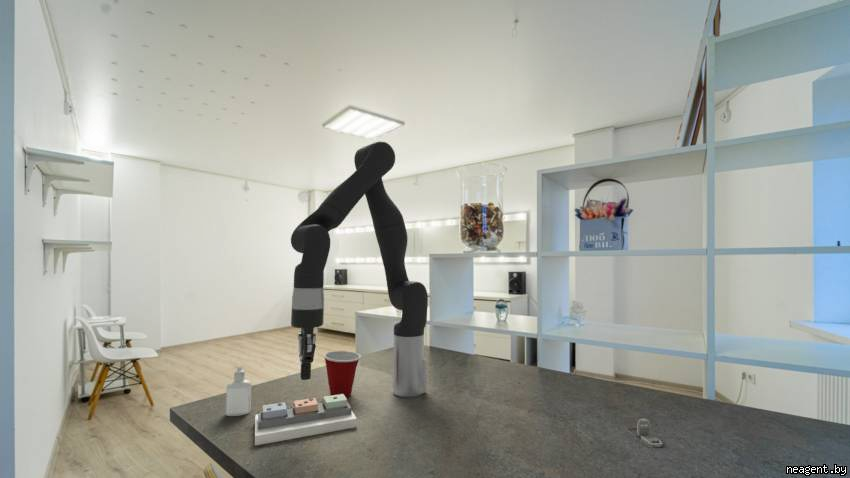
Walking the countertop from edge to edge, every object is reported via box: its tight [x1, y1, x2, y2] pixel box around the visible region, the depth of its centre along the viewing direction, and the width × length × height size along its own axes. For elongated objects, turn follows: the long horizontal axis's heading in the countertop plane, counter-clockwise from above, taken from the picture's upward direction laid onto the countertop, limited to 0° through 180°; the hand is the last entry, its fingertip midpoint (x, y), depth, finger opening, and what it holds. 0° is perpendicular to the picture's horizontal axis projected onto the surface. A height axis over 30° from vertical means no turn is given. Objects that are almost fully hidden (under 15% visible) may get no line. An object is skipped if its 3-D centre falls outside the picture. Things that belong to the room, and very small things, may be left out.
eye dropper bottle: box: [225, 365, 252, 417], centre depth 96 cm, size 4×6×12 cm
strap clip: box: [626, 418, 664, 448], centre depth 84 cm, size 8×3×4 cm, turn 6°
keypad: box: [254, 401, 358, 446], centre depth 89 cm, size 22×12×4 cm, turn 114°
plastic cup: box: [323, 350, 362, 399], centre depth 109 cm, size 11×11×12 cm
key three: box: [293, 397, 319, 414], centre depth 90 cm, size 5×4×2 cm
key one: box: [322, 394, 348, 409], centre depth 92 cm, size 5×4×2 cm
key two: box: [262, 401, 288, 419], centre depth 87 cm, size 5×4×2 cm
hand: (305, 378), depth 90 cm, fingers closed
